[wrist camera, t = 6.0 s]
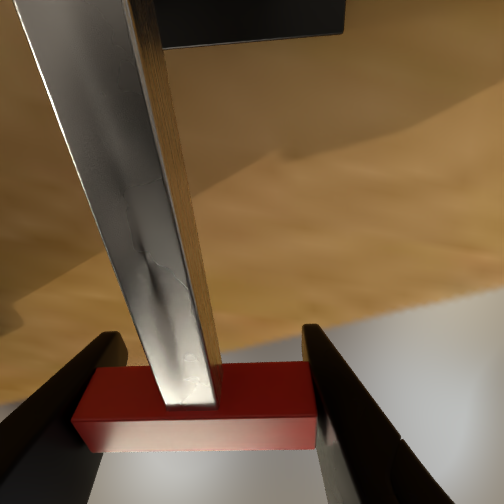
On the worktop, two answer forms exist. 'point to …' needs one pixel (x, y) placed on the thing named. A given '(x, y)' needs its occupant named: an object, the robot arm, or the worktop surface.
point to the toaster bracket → (245, 21)
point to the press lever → (152, 246)
